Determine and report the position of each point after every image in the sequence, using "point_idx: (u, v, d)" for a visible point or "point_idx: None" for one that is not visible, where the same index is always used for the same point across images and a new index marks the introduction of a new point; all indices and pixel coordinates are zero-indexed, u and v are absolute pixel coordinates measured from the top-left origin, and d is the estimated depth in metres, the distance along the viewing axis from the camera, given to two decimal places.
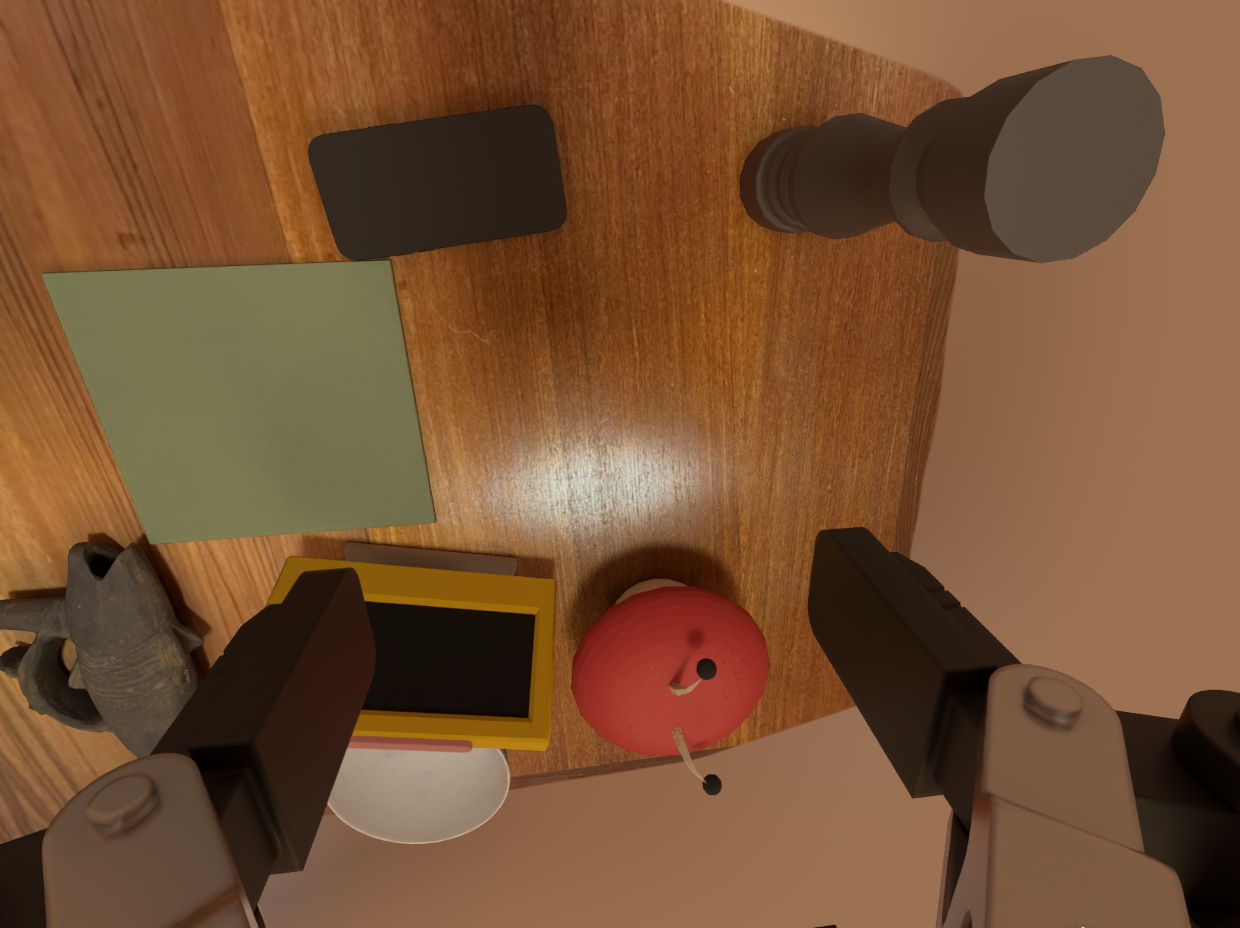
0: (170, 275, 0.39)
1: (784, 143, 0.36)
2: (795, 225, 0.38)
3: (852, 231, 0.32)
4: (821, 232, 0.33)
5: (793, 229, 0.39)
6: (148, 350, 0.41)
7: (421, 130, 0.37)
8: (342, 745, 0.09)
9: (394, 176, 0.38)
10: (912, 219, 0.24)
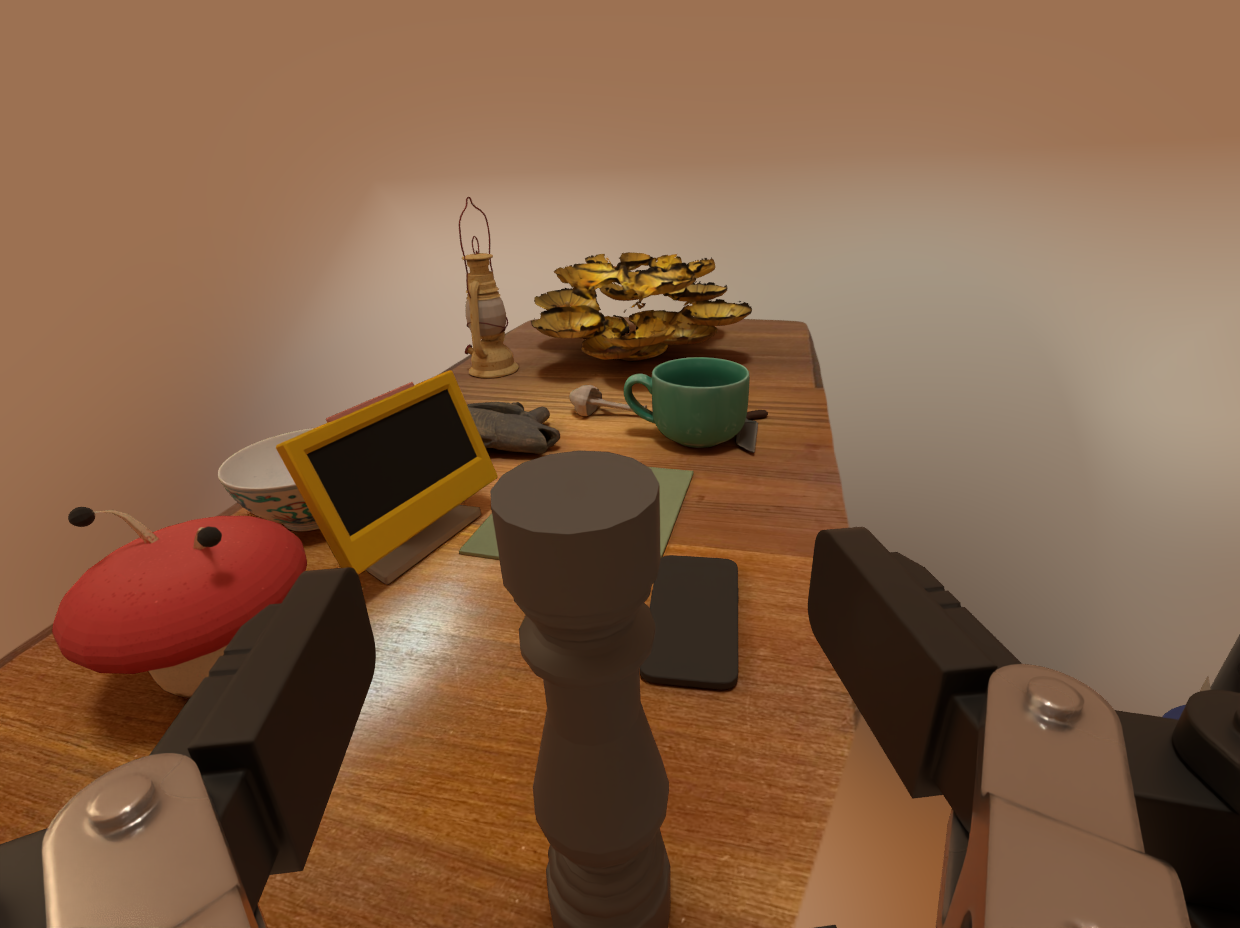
0: (677, 501, 0.67)
1: None
2: None
3: None
4: None
5: None
6: None
7: (731, 609, 0.50)
8: (342, 745, 0.09)
9: (705, 589, 0.53)
10: None
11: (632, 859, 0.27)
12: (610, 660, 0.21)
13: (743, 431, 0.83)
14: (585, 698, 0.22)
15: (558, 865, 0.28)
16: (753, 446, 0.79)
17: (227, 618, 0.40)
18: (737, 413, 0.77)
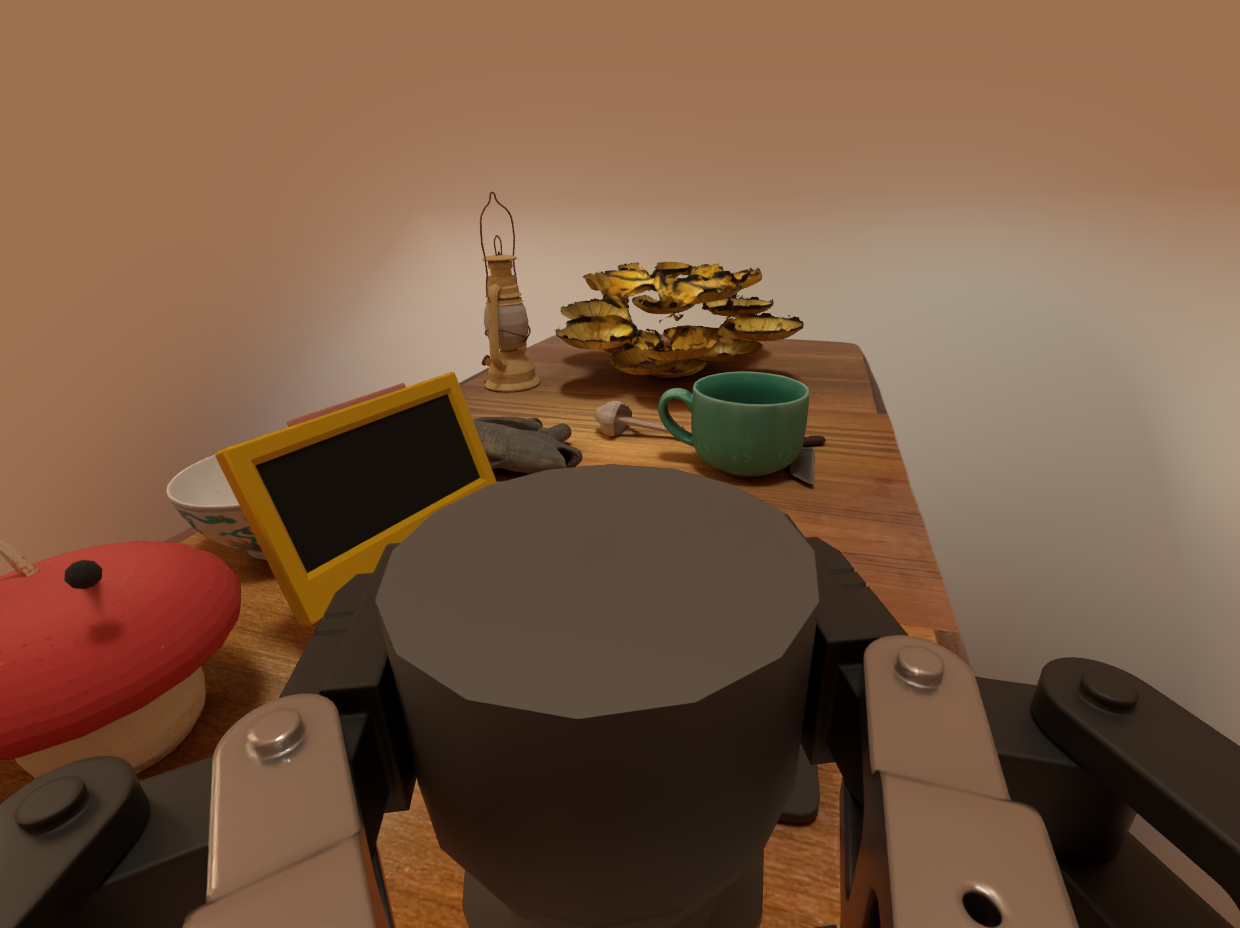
0: None
1: None
2: None
3: None
4: None
5: None
6: None
7: None
8: None
9: None
10: None
11: None
12: None
13: (799, 460, 0.70)
14: None
15: None
16: (811, 477, 0.66)
17: (102, 690, 0.29)
18: (794, 437, 0.64)
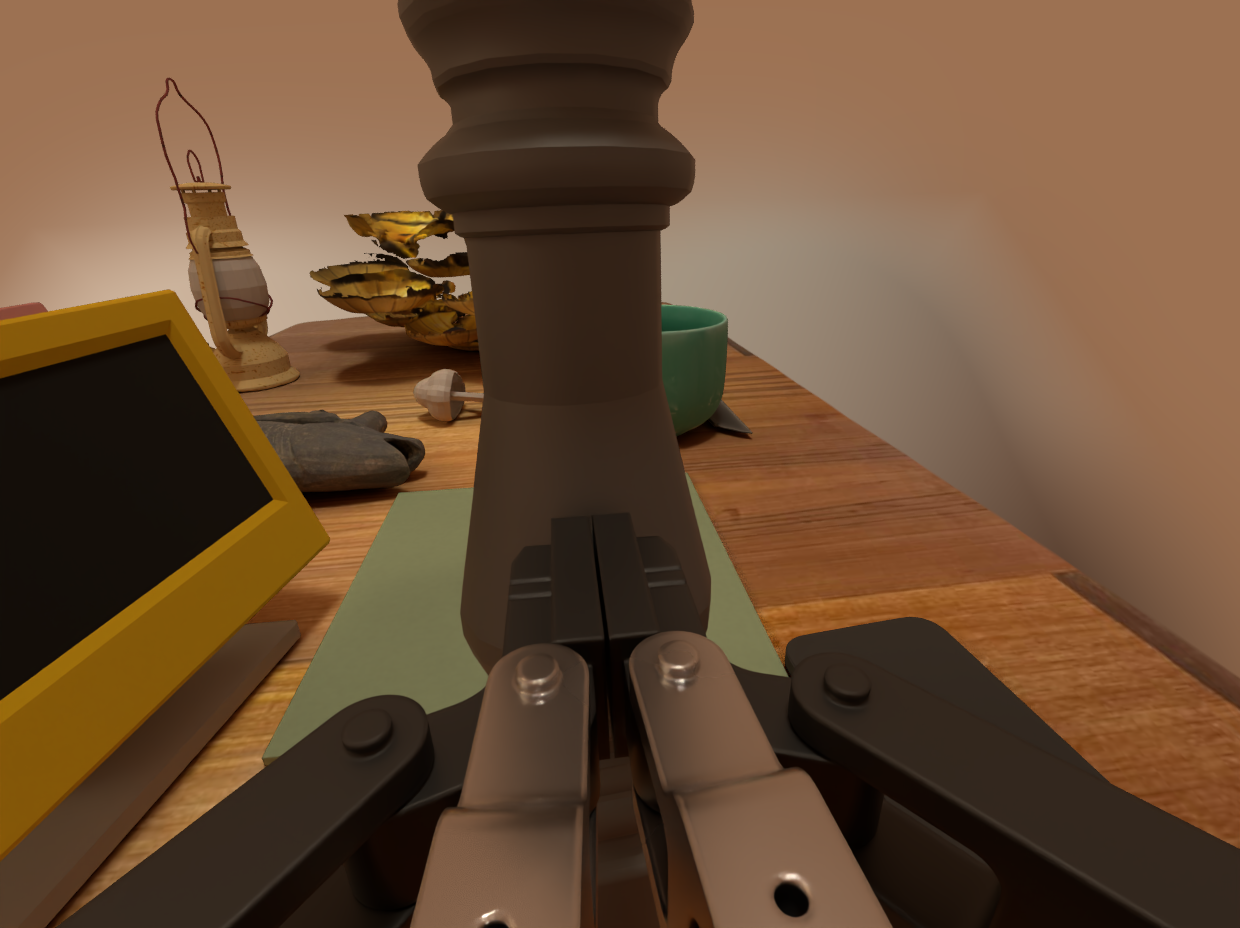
0: (706, 525, 0.36)
1: None
2: None
3: None
4: None
5: None
6: None
7: (1050, 741, 0.21)
8: None
9: None
10: None
11: None
12: (647, 130, 0.10)
13: None
14: (592, 260, 0.10)
15: None
16: (744, 425, 0.51)
17: None
18: (721, 374, 0.48)
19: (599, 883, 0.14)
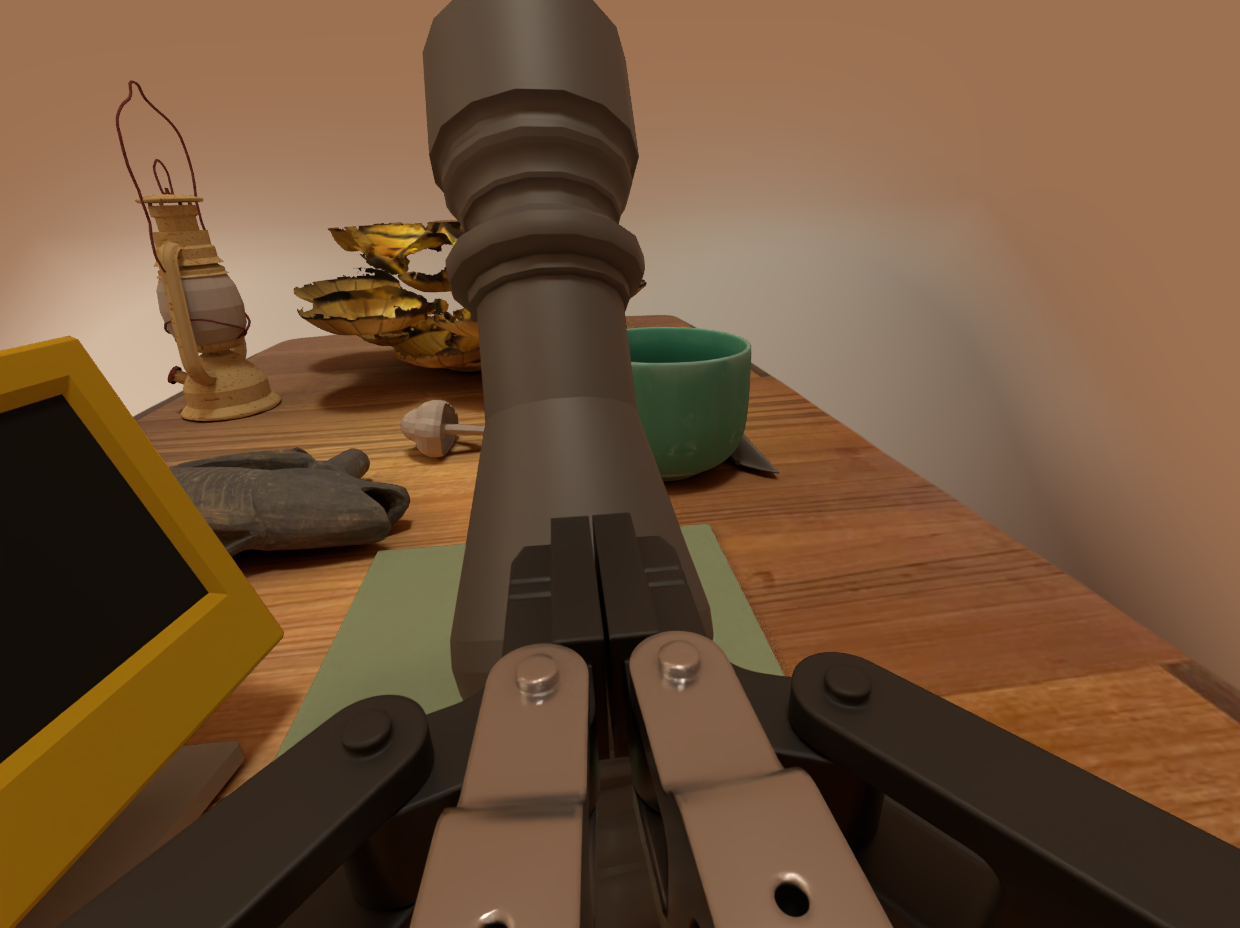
0: (737, 596, 0.31)
1: None
2: None
3: None
4: None
5: None
6: None
7: None
8: None
9: None
10: None
11: None
12: (602, 215, 0.15)
13: None
14: (568, 292, 0.14)
15: None
16: (768, 463, 0.45)
17: None
18: (744, 408, 0.43)
19: None
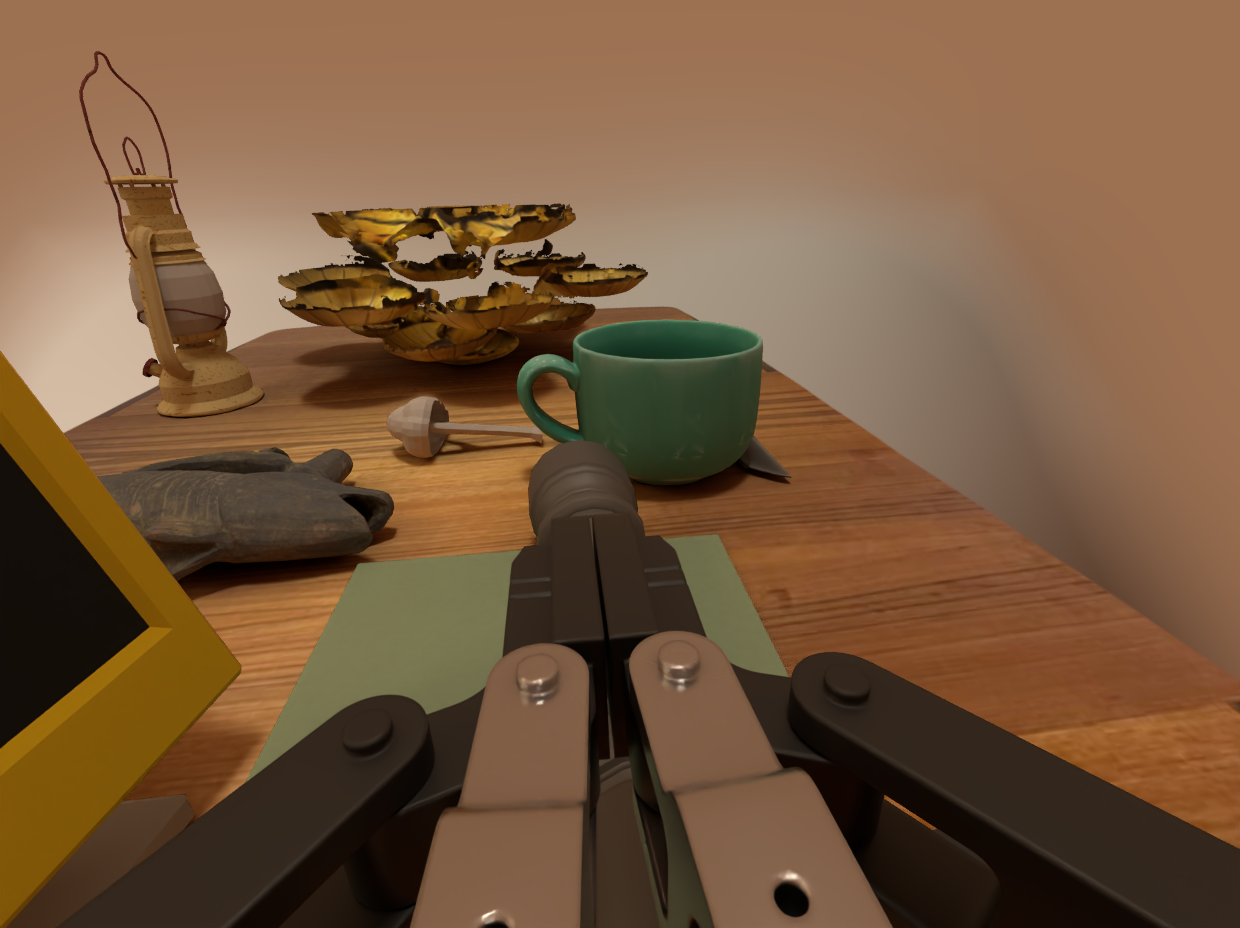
0: (751, 619, 0.28)
1: None
2: None
3: None
4: None
5: None
6: None
7: None
8: None
9: None
10: None
11: None
12: None
13: None
14: None
15: None
16: (779, 466, 0.42)
17: None
18: (755, 407, 0.40)
19: None
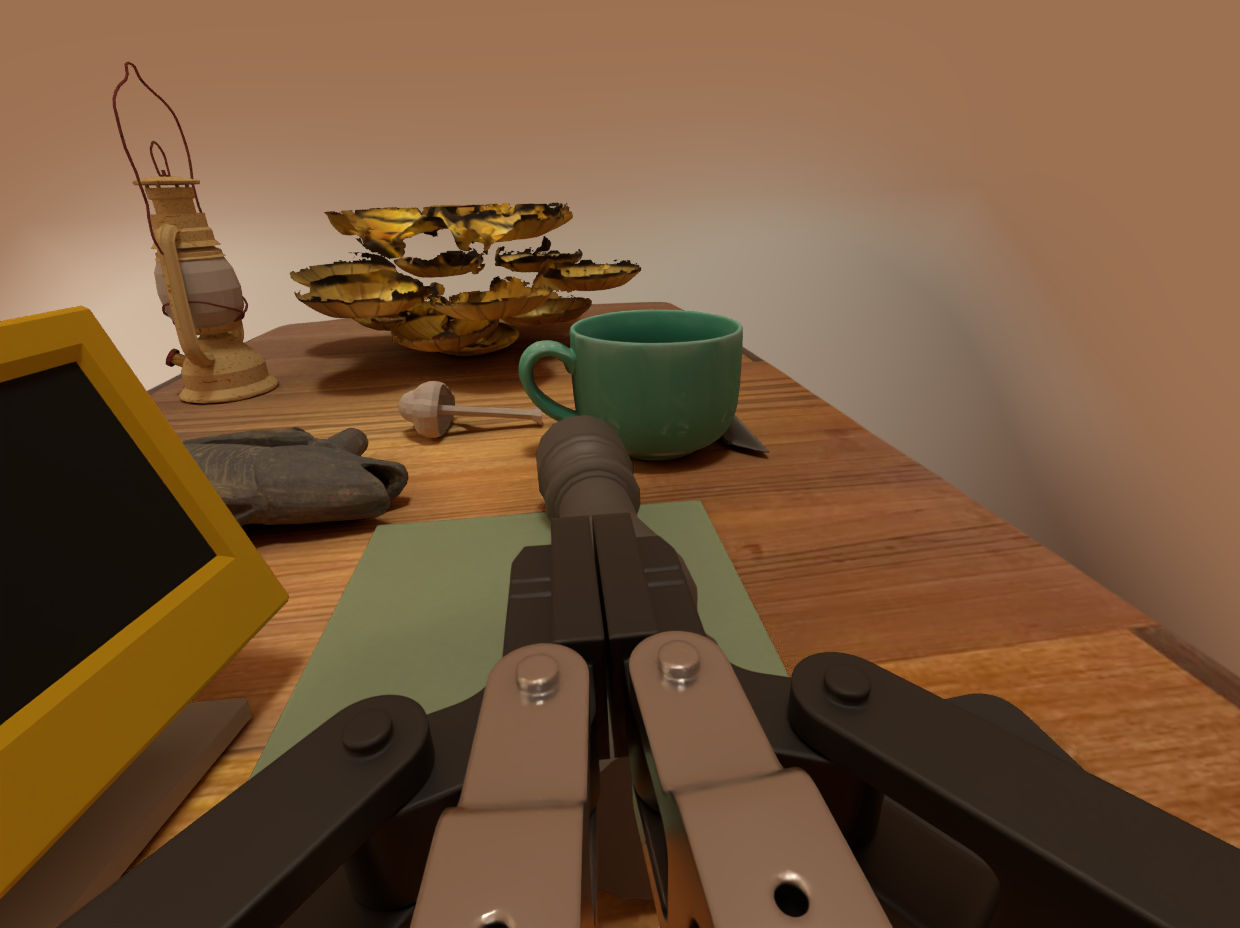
0: (726, 567, 0.32)
1: None
2: None
3: None
4: None
5: None
6: None
7: None
8: None
9: None
10: None
11: None
12: None
13: None
14: (625, 491, 0.31)
15: None
16: (759, 443, 0.46)
17: None
18: (736, 388, 0.44)
19: None
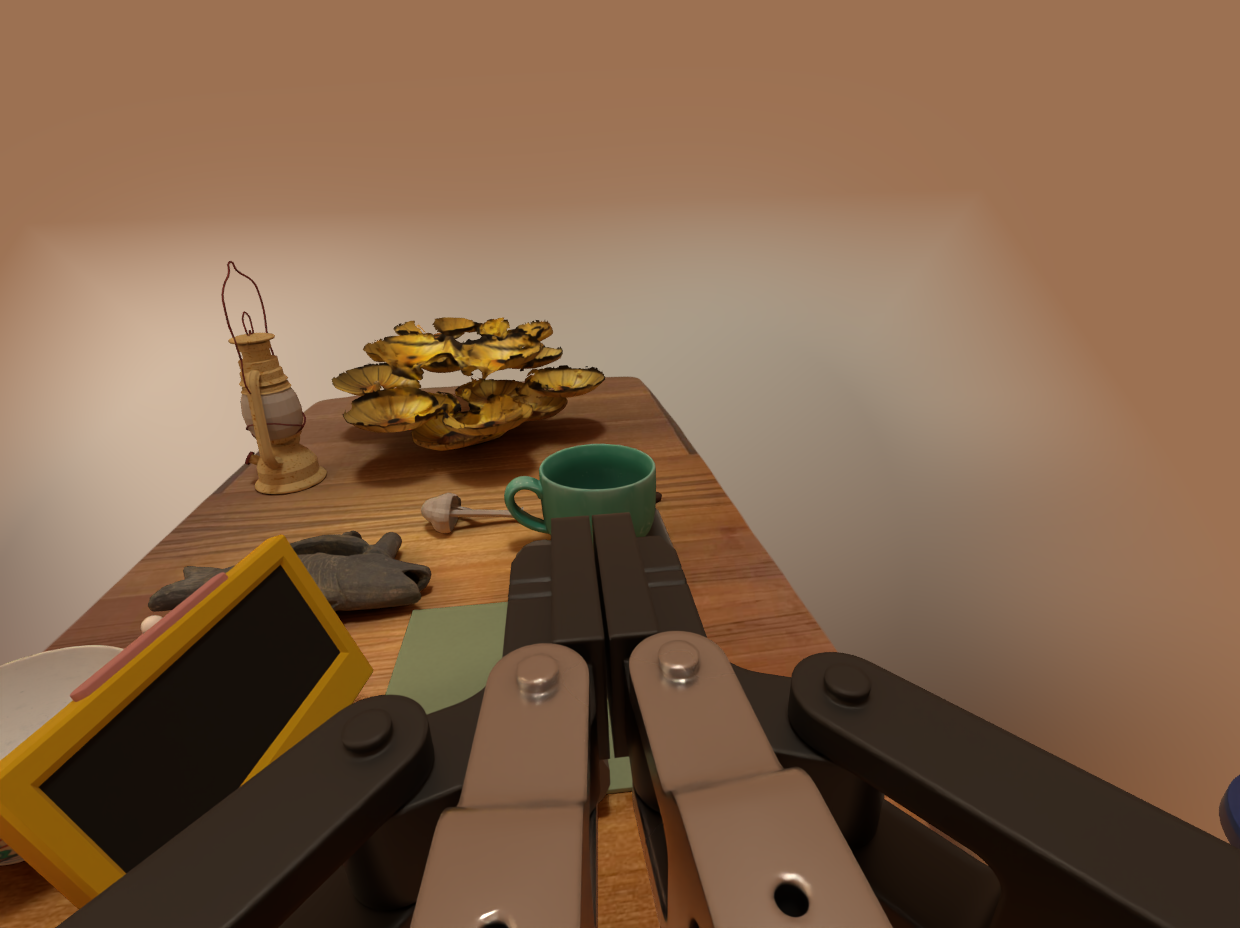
0: None
1: None
2: None
3: None
4: None
5: None
6: None
7: None
8: None
9: None
10: None
11: None
12: None
13: None
14: None
15: None
16: (670, 543, 0.67)
17: None
18: (650, 509, 0.65)
19: None
